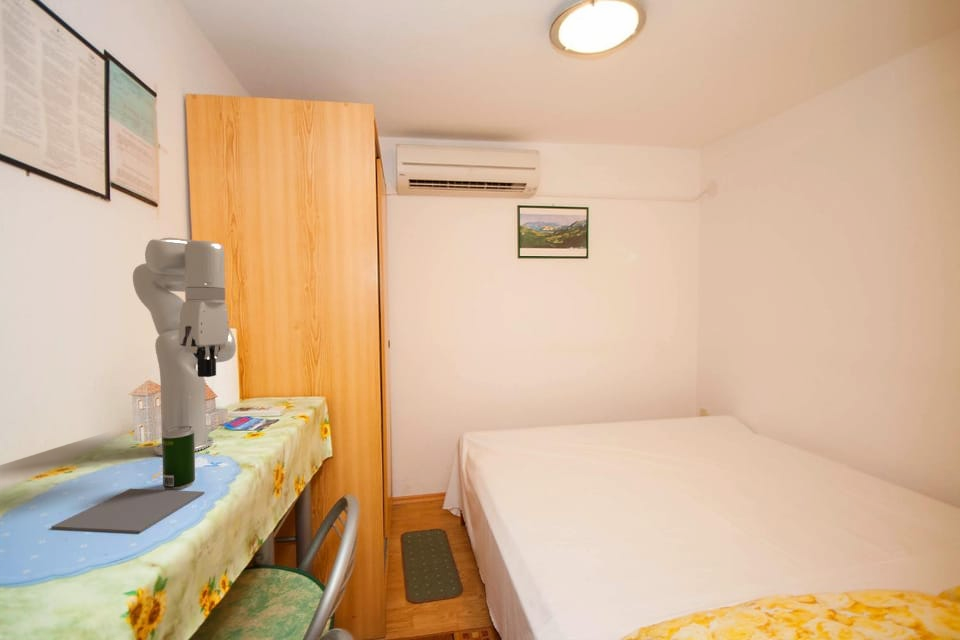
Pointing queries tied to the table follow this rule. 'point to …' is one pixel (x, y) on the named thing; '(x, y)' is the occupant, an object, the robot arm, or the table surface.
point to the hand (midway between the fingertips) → (206, 376)
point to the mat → (130, 511)
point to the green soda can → (178, 457)
